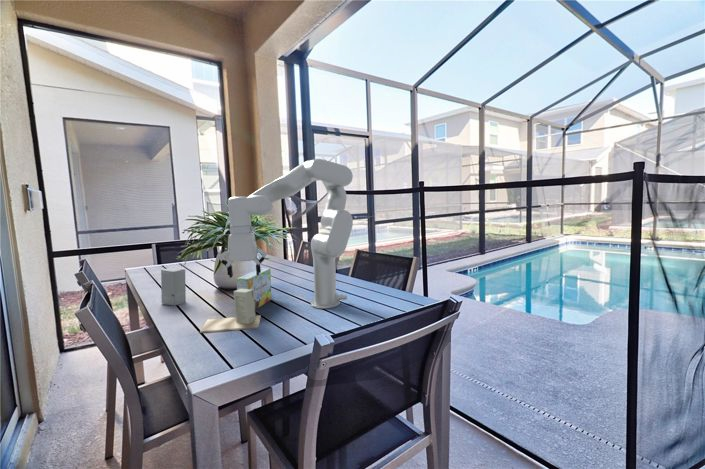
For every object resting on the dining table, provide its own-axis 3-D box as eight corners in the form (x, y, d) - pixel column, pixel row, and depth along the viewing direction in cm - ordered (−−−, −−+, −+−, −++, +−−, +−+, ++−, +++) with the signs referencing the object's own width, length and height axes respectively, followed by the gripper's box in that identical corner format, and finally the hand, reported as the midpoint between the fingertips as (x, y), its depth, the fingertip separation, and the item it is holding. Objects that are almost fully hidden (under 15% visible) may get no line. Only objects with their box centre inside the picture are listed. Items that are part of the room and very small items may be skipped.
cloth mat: (260, 316, 137) (260, 315, 137) (258, 327, 125) (258, 326, 125) (207, 320, 133) (207, 319, 133) (200, 333, 121) (199, 331, 121)
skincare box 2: (256, 320, 130) (254, 289, 129) (248, 324, 127) (246, 292, 125) (243, 318, 133) (241, 287, 132) (235, 322, 129) (233, 290, 128)
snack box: (249, 315, 139) (248, 278, 137) (237, 314, 140) (235, 278, 138) (272, 299, 160) (270, 267, 158) (261, 298, 161) (259, 267, 159)
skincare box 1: (161, 304, 155) (158, 270, 153) (174, 299, 161) (172, 266, 160) (175, 306, 152) (172, 271, 150) (188, 301, 158) (185, 268, 156)
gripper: (265, 228, 131) (268, 271, 133) (218, 230, 128) (222, 275, 130) (264, 230, 124) (267, 276, 126) (214, 233, 121) (218, 280, 123)
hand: (244, 275), depth 128 cm, fingers open, 9 cm apart
